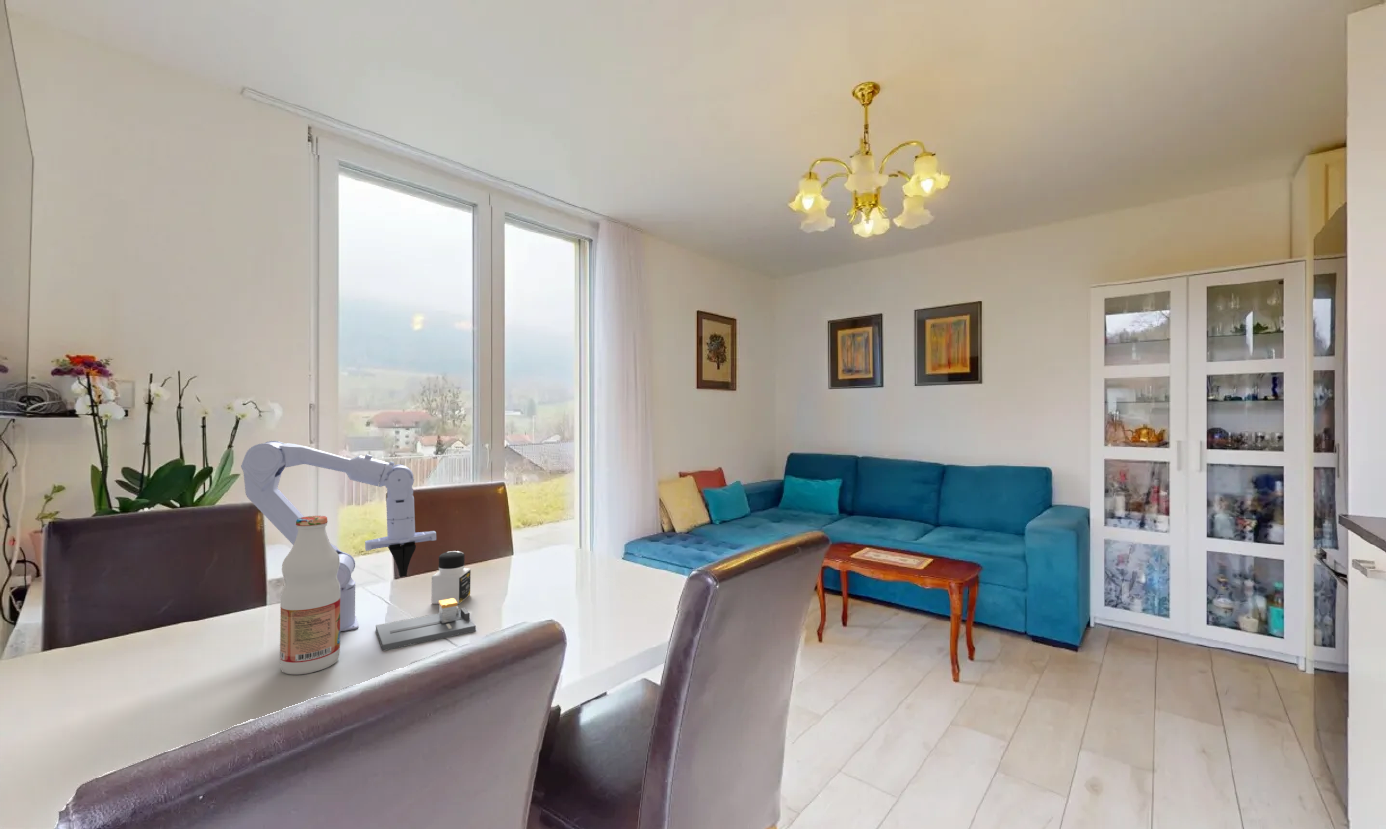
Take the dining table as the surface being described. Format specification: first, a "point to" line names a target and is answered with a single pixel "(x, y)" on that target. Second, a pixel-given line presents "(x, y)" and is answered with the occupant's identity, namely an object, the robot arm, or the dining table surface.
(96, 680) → the dining table surface
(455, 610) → the fader tab
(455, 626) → the console board
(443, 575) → the medicine bottle
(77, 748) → the dining table surface
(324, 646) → the fruit juice
